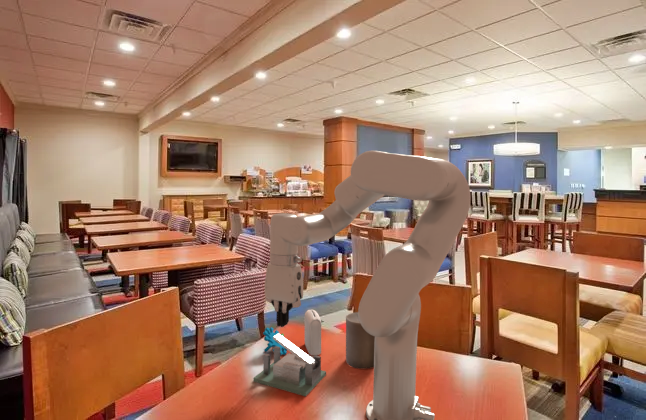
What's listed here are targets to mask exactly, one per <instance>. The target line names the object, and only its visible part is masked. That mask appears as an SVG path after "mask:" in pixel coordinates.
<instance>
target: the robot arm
mask: <svg viewBox="0 0 646 420" xmlns="http://www.w3.org/2000/svg"><path fill="white" fill-rule="evenodd" d="M336 185H337V184H336ZM384 196H387V197H388V196H389V197H395V198H401V199H406V200H413V201H419V202H428V203H427V206H426V208H425V209H424V210H423V212H422V213H421V215H420V216H419V218H418V220H417V221H416V224H415V226H414V228H413V230H412V232H411V233H410V235H409V237H408V238H407V240H406V241H405V242H404V243H402V244H401V245H399V246H397V247H394V248H392V249H391V250H390V251H388V252H387V253H386V254H385V255H384V256H383V257H382V259H381V260H380V262H379V264H378V265H377V267H376V269H375V271H374V273H373V275H372V277H371V279H370V280H369V283H368V285H367V287H366V289H365V290H364V292H363V294H362V297H361V299H360V301H359V304H358V311H357V312H358V317H359V321H360V323H361V325H362V327H363V329H364V330H365V331H366V332H367V333H369V334H370V335H372V336H375V341H374V367H373V388H372V389H373V391H372V395H373V396H372V400H371V401H369V402H368V404H367V405H366V409H365V413H366V418H367V420H435V413H434V412H432V410H431V409H432V407H431V406H428V405H422V404H421V403H419V396H417V395H416V382H417V381H416V380H417V353H418V352H417V350H418V332H419V324H420V320H421V312H422V310H421V309H422V303H421V297H420V292H421V290H422V289H423V288H425V287H426V286H427V285H429V284H430V283H431V282H432V281H433V280H434V279H435V278H436V277H437V275H438V273H439V270H440V269H441V267H442V265H443V263H444V261H445V259H446V258H447V255H448V253H450V251H451V248H452V247H453V245H454V243H455V241H456V239H457V237H458V235H459V233H460V232H461V229H462V228H463V225H464V224H465V222H466V220H467V217H468V214H469V211H470V207H471V197H472V196H471V190H470V186H469V183H468V180H467V179H466V177H465V175H464V174H463V172H462V171H461V169H460V168H459V167H458V166H456V165H455V164H454V163H452V162H451V161H448V160H446V159H442V158H437V157H435V158H434V157H429V156H428V157H427V156H420V155H411V154H401V153H400V154H399V153H390V152H387V151H379V150H367V151H364V152H362V153H360V154H359V155H358V156H357V157H356V158H355V159H354V160H353V162H352V164H351V167H350V175H349V176H348V177H347V178H345V179H344V180H342V182H340V183H338V185H337V186H336V187H335V189H334V198H335V200H334V201H333V202H332V203H331V204H330V205H329V206H328V207H326V208H324V209H323V210H322V211H321V212H319V213H315V214H307V215H299V216H297V215H296V214H294V213H284V212H283V213H275V214H272V216H271V218H270V224H269V225H270V226H269V227H270V228H269V229H270V230H269V231H270V233H269V234H270V235H269V236H270V237H269V242H270V243H269V263H267V267H266V271H265V278H264V296H265V302H268V303H269V304H271V305H272V306H273V307H274V311H275V312H276V325H277V327H280V328H283V327H285V326H287V325H288V323H289V319H290V311H291V310H292V309H294V308H300V307H301V306H302V301H301V300H302V299H303V297H304V280H303V271H302V266H301V264H299V263H301V262H302V261H303V258H302V257H300V256H299V247H306V246H309V245H313V244H317V243H322V242H326V241H327V240H329V239H331V238H333V237H334V236H335V235H337V234H339V233H340V232H341V231H343V230H344V229H346V228H347V227H348V226H350V225H351V224H352V223H353V221H355V219H356V218H357V217H358V215H359V214H361V213H362V212H363V211H365V210H366V209H368V208H369V207H371V206H372V205H373V204H374V203H376V202H377V201H379V200H380V199H381V198H383V197H384Z"/></svg>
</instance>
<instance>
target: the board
mask: <svg viewBox="0 0 646 420" xmlns="http://www.w3.org/2000/svg"><path fill="white" fill-rule="evenodd" d="M273 365H274V361H273V362H272V363H270V374H269V375H265V374H263V370H261V371H260V372H259V373H258V374H256V375H255V376H254V377H253V378H252V379H253V381H252V382H254V383H258V384H261V385H264V386H268V387H272V388H274V389H279V390H283V391H285V392H289V393H293V394H295V395H299V396H303V397H307V395H309V394H310V393H311V391H313V389H314V388H315V387H317V385H318V384H319V383H320V382H321V381H322V380H323V379H324V378H325V377H326V376H327V371H326V370H322V369H321V377H320V378H319V379H318V380H317V381H316V383H315V384H314V385H313V386H309V385H306V384H305V381H304V382H303V383H302V384H301V385H300V386H297V385H294V384H290V383H287V382H283V381H279V380H276V379H273Z"/></svg>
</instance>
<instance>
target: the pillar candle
mask: <svg viewBox="0 0 646 420" xmlns="http://www.w3.org/2000/svg"><path fill="white" fill-rule="evenodd" d="M374 341H375V336H372V335H370V334H369V333H367V332H366V331H365V330H364V329H363V327H362V325H361V323H360V321H359V317H358V311H356V312H351V313H348V314H347V315H346V316H345V362H346V364H347V365H348V366H349V367H351V368H354V369H358V370H359V369H360V370H364V369H372V368H373V369H374Z"/></svg>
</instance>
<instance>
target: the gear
mask: <svg viewBox="0 0 646 420" xmlns="http://www.w3.org/2000/svg"><path fill="white" fill-rule="evenodd" d="M278 333H279V334H280V331H279V330H278V329H276V330H275V329H274V328H273V327H266V328H265V329H264V331H263V332H262V334H263V335H264V337H263V339H264V341H265V342H267V347H265V348H264V349H263V351H264V352H265V353H266V352H267V353H268V351H269V350H271V349H272V348H273V349H272V352H273V353H274V347H275V346H277V347H280V356H283V355H284V356H286V355H287V354H288V350H287V349H286V348H284V347H283V346H282V345H280V344H279V343H278V342H276V341H275V340H274V339H273V337H274V336H275V335H277V334H278ZM280 335H281V336H283V337H284V336H285V335H284V333H281V334H280Z"/></svg>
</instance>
